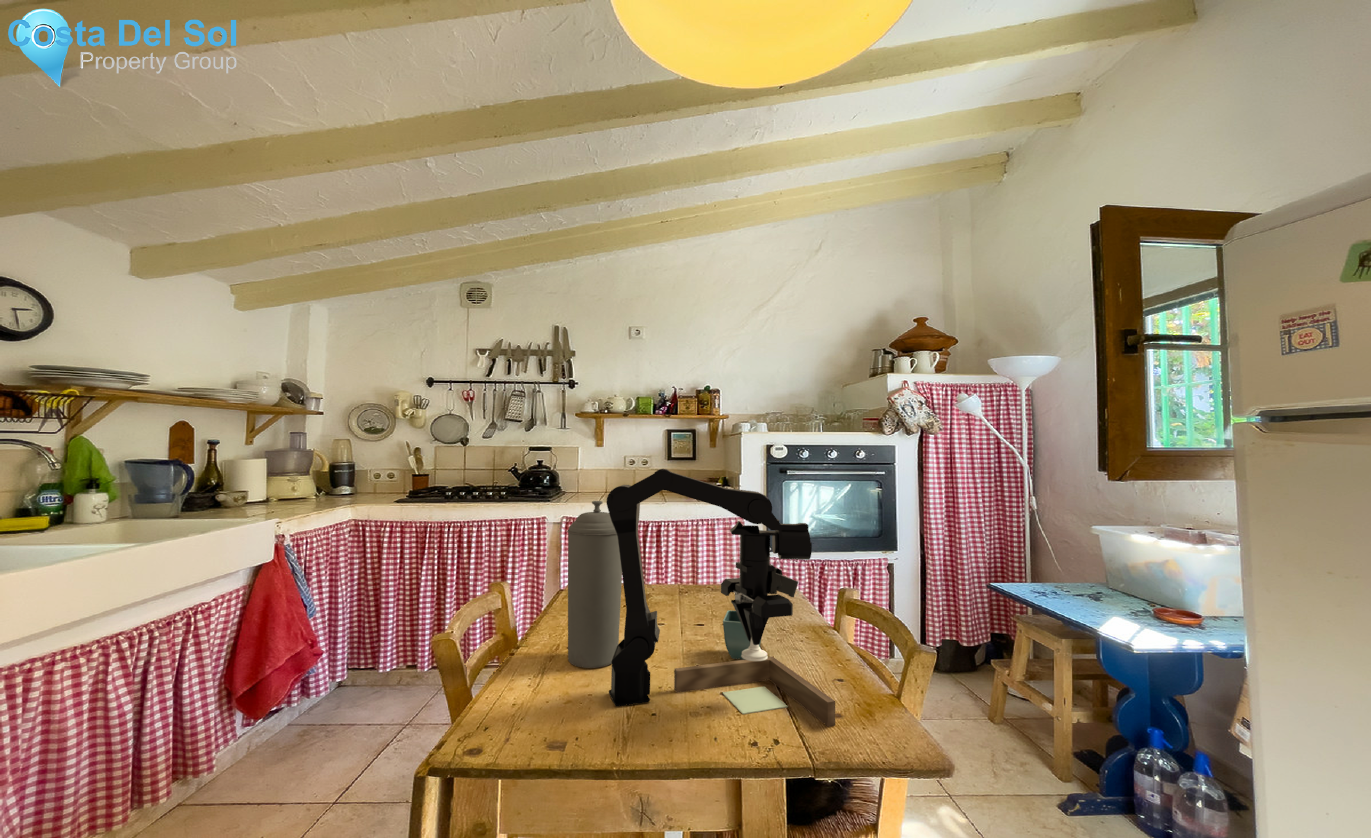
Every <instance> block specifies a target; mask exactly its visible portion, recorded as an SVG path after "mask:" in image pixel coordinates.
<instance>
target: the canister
mask: <svg viewBox="0 0 1371 838" xmlns="http://www.w3.org/2000/svg"><path fill="white" fill-rule="evenodd" d="M591 504H592V505H594V508H593V510H592V511H588V512H587V511H586V512H583V513H580V514H579V515H578V516H577V517H576V518H575V521H572V523H571V525H569V526H568V530H567V531H566V532H567V535H568V536H567V539H568V540H567V660H568V662H569V664H571V665H572V666H575V667H578V668H584V669H595V668H602V667H607V666H609V665H612V663H611V661H612V659H613V656H614V653H615V651H616V648H617V645H618V644H619V643H620V642H619V641H620V640H619V639H620V625H621V624H620V621H621V602H622V601H621V600H622V599H621V598H622V585H623V577H622V569H621V560H620V552H619V544H618V536H617V533H616V531H615V528H614V526H613V523H612V521H611V517H610V514H609V512H605V511H601V510H602V509H600V506H601V505H602V504H603V501H602V500H593V501H591Z"/></svg>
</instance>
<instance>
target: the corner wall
mask: <svg viewBox="0 0 1371 838" xmlns="http://www.w3.org/2000/svg"><path fill="white" fill-rule="evenodd" d="M673 671H674V678H673V679H674V680H673V683H674V684H673V686H674V687H673V690H674V691H675V692H676V693H677V694H678V693H684V692H685V693H686V692H691V691H699V690H705V689H706V690H707V689H713V688H720V687H728V686H735V685H742V684H750V683H756V682H757V683H758V682H764V681H771V682H772V683H773V684H774V685H775V686H776V687H777V688H779V689H780V690H782V692H784V693H785V694H787V696H789V697H790V698H791V699H793V700H794V701H795V702H796V703H797V704H799V705H800V706H801V707H802V708H804V709H805V710H806V711H807V712H809V714H812V716H813V717H815V718H816V719H817V720H818V721H820V722H821V723H822V724H824V725H825V726H827V728H828V727H834V726H836V700H834V699H833V698H832V697H830V696H829V695H827V694H826V693H825V692H823V691H822V690H820V688H817V686H815V685H813V684H812V683H810V681H808V680H806V679H805V678H804V677H803V676H800V675H799V674H797V672H795V671H794V670H792V669H791V668H789V666H787V665H786V664H784V663H783V662H781V661H780V660H779V659H778V658H776V657H774V656H768V658H767V659H766V660H763V661H749V660H741V659H738V660H733V661H732V660H731V661H724V662H723V661H722V662H716V663H707V664H701V665H699V664H698V665H691V666H684V667H683V666H682V667H674V670H673Z"/></svg>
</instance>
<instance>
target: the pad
mask: <svg viewBox="0 0 1371 838" xmlns="http://www.w3.org/2000/svg"><path fill="white" fill-rule="evenodd" d="M722 695H723V696H724V697H725V698H726V699H727V700H728V701H729V702H730V703H731V704H732V705H733V706H734V707H735V708H736V709H737V710H738V711H739V712H740V713H741V714H742V715H747V714H754V713H759V712H760V713H761V712H766V711H772V710H780V709H785V708H788V707H789V705H786V703H785V702H783V701H782V700H781V699H780V698H779V697H778V696H777V695H776V694H774V693H773V692H772V691H770V690H769V689H768V688H767V687H766V686H757V687H751V688H750V687H749V688H744V689H736V690H731V691H723V692H722Z"/></svg>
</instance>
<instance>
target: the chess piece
mask: <svg viewBox="0 0 1371 838" xmlns="http://www.w3.org/2000/svg"><path fill="white" fill-rule="evenodd" d="M748 648H749V649H745V650H743V651H742V655H741V657H742V658H743V659H745V660H749V661H763V660H766V659H767V658H768V657H769V656H768V652H767V651H765V650H763V649H761V646H760V647H759V645H754V644H753V641H752V638H751V642H750V646H749V647H748Z"/></svg>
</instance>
